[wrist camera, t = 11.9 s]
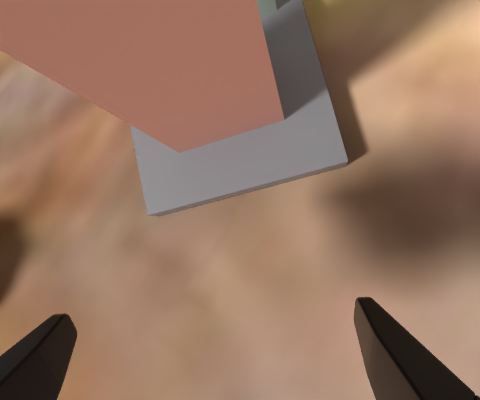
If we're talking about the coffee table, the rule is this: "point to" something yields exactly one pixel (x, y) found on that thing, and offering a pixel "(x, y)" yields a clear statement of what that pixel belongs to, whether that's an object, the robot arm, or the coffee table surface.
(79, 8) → the block
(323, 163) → the shelf board
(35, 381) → the robot arm
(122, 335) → the coffee table surface
